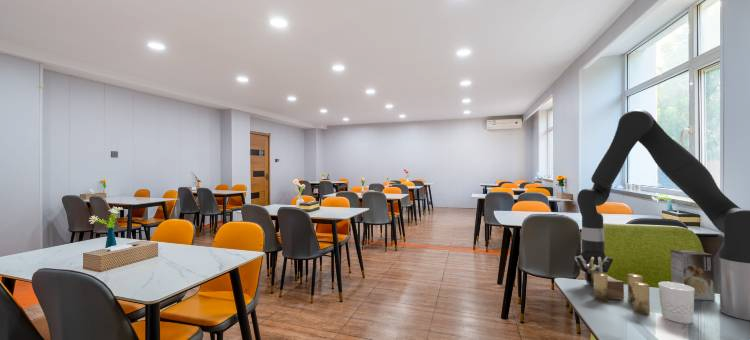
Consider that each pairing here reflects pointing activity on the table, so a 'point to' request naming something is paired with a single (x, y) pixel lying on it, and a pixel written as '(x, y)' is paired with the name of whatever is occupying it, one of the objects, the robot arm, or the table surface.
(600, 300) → the cylinder
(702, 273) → the coffee box
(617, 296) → the rake
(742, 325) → the table surface
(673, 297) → the white cup
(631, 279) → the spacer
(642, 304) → the cylinder
